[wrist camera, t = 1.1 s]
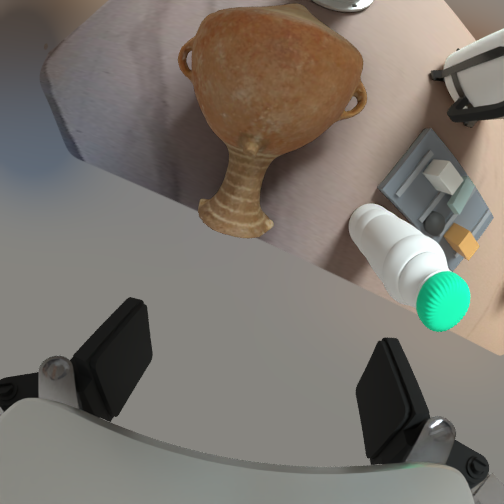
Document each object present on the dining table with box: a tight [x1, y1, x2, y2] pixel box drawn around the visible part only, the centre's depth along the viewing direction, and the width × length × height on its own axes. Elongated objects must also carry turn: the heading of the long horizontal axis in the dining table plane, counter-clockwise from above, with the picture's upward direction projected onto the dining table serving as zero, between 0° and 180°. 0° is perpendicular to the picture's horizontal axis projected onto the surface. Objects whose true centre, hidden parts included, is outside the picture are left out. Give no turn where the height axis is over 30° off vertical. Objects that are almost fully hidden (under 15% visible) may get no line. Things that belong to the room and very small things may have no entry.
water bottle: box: [349, 203, 470, 332], centre depth 28 cm, size 7×7×25 cm
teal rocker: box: [447, 176, 475, 215], centre depth 32 cm, size 6×2×1 cm, turn 142°
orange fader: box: [444, 223, 479, 261], centre depth 33 cm, size 3×4×5 cm
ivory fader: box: [423, 159, 463, 195], centre depth 31 cm, size 3×4×5 cm
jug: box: [178, 3, 367, 238], centre depth 28 cm, size 20×19×30 cm
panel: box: [377, 128, 494, 272], centre depth 35 cm, size 13×20×4 cm, turn 52°
